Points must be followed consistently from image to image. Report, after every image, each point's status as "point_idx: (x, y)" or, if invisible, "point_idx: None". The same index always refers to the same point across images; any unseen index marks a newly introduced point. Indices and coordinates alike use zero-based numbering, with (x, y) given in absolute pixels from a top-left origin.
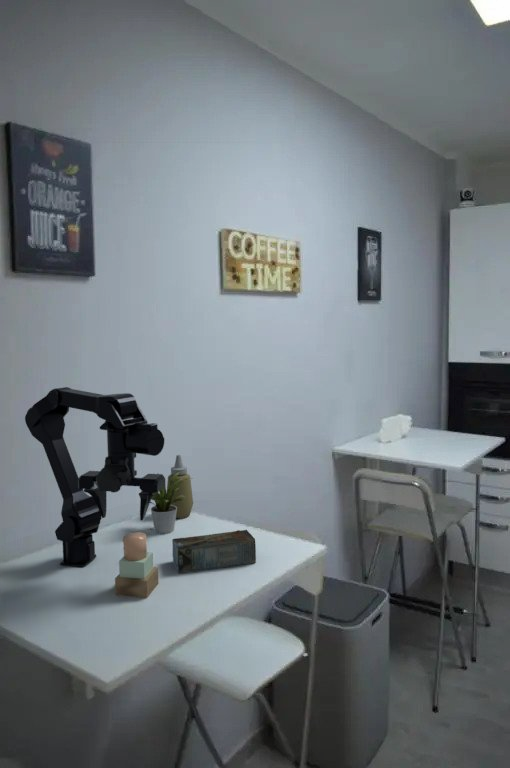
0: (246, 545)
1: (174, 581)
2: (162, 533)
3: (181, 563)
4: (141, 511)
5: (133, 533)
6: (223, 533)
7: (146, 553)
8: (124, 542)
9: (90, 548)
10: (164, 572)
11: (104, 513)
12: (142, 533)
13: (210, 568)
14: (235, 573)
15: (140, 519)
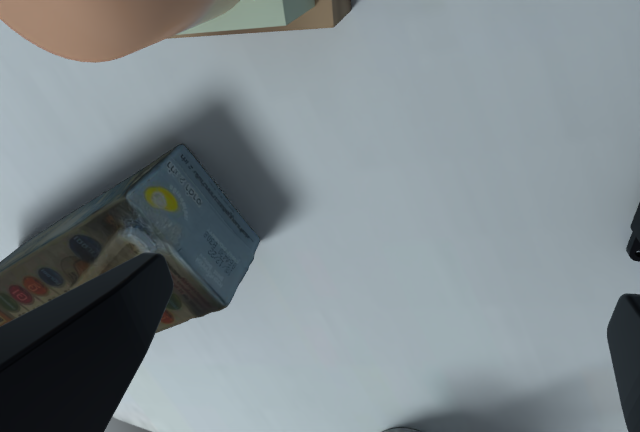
0: None
1: (151, 62)
2: (404, 428)
3: (151, 166)
4: (64, 309)
5: (120, 10)
6: None
7: None
8: None
9: None
10: (239, 142)
11: (633, 352)
12: (44, 36)
13: (100, 195)
14: (14, 174)
15: (155, 257)
